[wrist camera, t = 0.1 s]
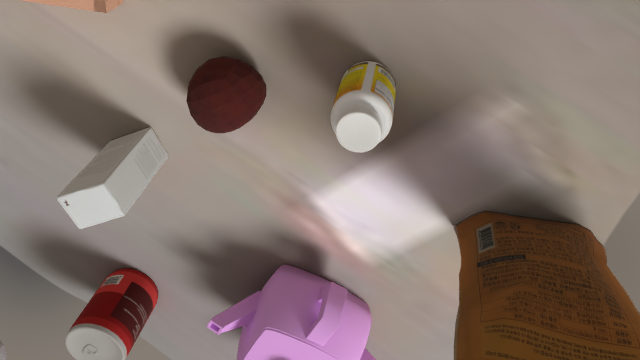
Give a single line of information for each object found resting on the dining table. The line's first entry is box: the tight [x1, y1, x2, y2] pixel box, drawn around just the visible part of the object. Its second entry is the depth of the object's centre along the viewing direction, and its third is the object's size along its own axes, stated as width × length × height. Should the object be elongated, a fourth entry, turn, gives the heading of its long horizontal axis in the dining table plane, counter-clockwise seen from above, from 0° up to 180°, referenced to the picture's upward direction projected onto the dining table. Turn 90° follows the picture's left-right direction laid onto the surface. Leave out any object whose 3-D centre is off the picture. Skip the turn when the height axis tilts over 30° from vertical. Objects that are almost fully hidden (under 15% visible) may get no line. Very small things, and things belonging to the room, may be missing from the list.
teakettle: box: [207, 265, 376, 360], centre depth 71 cm, size 17×17×12 cm
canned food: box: [65, 269, 158, 360], centre depth 75 cm, size 8×8×11 cm
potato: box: [187, 57, 266, 133], centre depth 58 cm, size 7×8×6 cm
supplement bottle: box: [331, 61, 396, 153], centre depth 54 cm, size 6×6×10 cm
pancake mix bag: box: [454, 211, 640, 360], centre depth 52 cm, size 7×19×28 cm, turn 86°
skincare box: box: [56, 127, 168, 229], centre depth 62 cm, size 6×4×12 cm
